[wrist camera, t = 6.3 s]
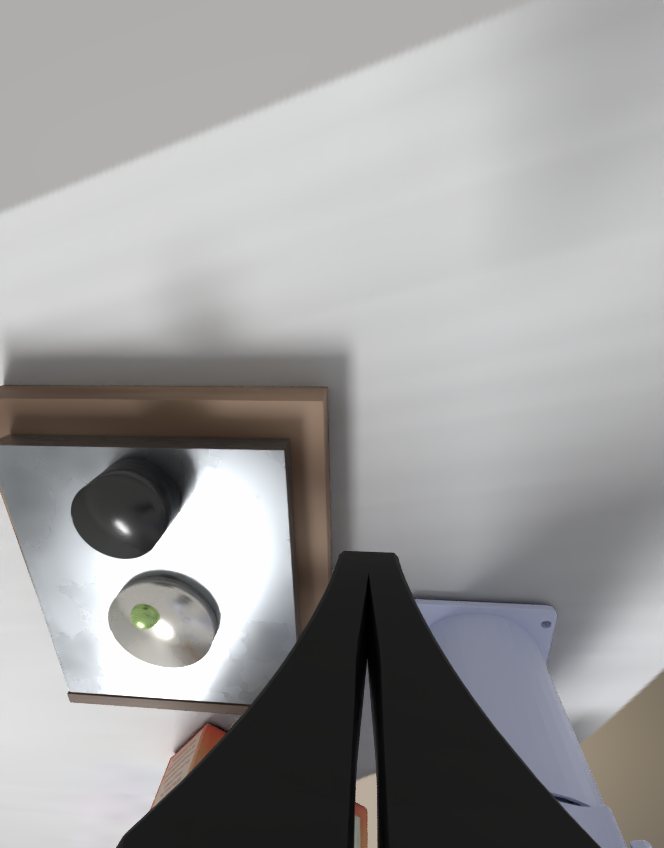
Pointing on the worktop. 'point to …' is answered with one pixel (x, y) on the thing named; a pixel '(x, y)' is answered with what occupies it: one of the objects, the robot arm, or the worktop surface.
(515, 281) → the worktop surface
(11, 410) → the base
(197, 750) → the cracker box
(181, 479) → the plate
